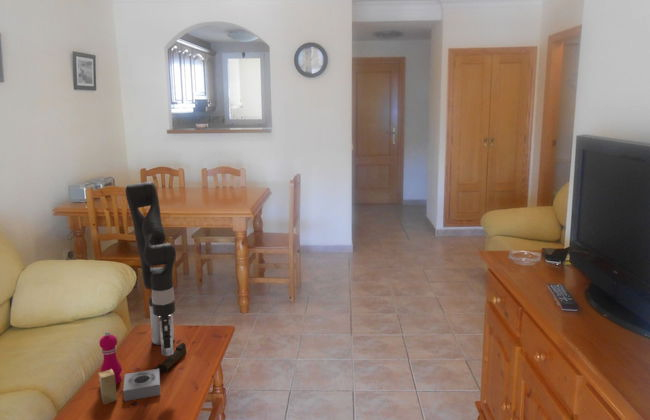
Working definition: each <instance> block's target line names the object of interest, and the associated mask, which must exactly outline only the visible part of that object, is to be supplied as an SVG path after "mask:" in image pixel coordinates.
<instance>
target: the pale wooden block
mask: <svg viewBox="0 0 650 420" xmlns="http://www.w3.org/2000/svg"><path fill="white" fill-rule="evenodd" d="M98 380H99V388H100V389H99V390H100V397H101V398H100V399H101V401H102V403H103V405H107V404H111V403H114V402H117V401H118V393H117V384H116V382H115V374H114V372H113V370H112V369H110V370H106V371H103V372H101V371H100V372H99V371H98Z"/></svg>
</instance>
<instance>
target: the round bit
mask: <svg viewBox="0 0 650 420" xmlns="http://www.w3.org/2000/svg"><path fill="white" fill-rule="evenodd" d="M166 335H169V334H166ZM160 336H161V345H160V347H161V355H162V356H163V357H169V356H170V355H172V354H173V353H174V351H175V350H174V341H173V338H172V326H171V331H170V336H171V337H170V345H171V347H170V348H166V349H165V348H164V340H163V333H162V332H161V327H160Z"/></svg>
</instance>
